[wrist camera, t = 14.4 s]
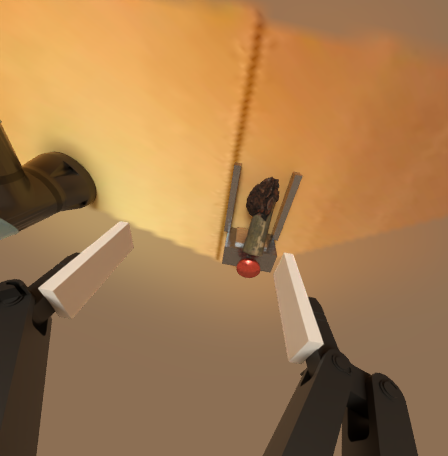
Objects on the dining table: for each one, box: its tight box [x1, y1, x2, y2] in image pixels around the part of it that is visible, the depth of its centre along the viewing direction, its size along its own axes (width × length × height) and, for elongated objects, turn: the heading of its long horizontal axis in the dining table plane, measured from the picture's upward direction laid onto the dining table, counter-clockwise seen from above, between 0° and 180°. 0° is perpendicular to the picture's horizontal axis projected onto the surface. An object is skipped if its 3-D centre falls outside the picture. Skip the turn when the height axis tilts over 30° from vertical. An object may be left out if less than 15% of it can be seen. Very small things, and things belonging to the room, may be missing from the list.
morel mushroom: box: [242, 177, 279, 256], centre depth 38 cm, size 18×7×6 cm
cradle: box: [222, 163, 302, 278], centre depth 40 cm, size 15×24×12 cm, turn 173°
